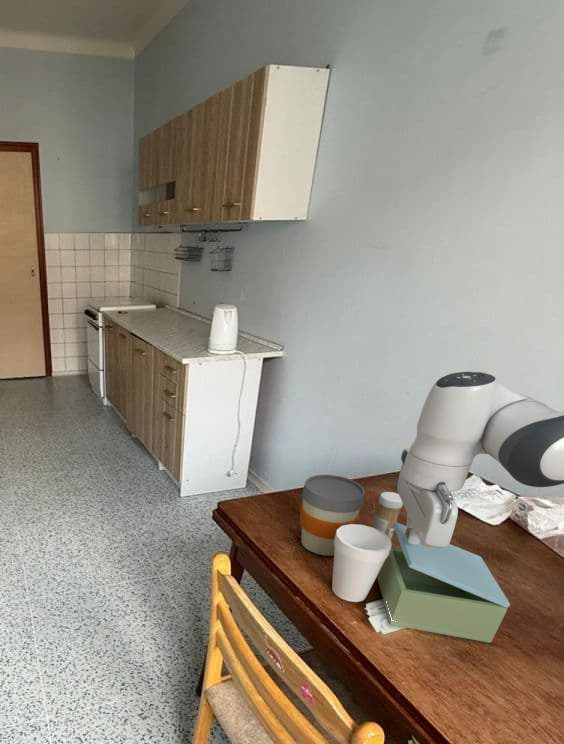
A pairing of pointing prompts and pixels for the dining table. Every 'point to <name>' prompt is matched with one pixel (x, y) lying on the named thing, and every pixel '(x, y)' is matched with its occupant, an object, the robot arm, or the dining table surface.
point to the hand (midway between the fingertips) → (411, 539)
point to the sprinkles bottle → (387, 512)
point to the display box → (435, 603)
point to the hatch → (452, 567)
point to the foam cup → (358, 560)
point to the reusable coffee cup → (328, 510)
